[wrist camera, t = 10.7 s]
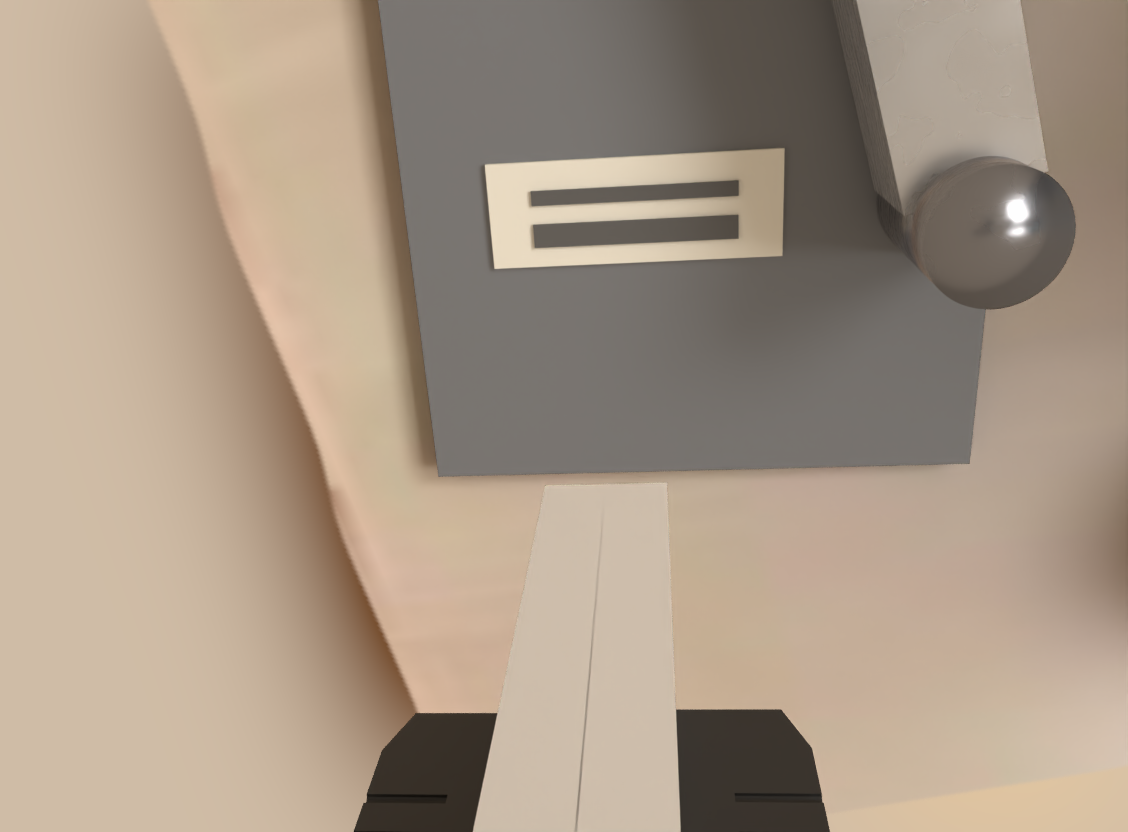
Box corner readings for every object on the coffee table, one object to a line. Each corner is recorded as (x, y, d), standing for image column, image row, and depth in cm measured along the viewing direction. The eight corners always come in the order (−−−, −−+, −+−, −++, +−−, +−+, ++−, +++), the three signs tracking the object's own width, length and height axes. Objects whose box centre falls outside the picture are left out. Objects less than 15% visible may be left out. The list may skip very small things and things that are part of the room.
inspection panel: (1021, -149, 30) (1037, -155, 29) (961, 452, 38) (972, 467, 36) (373, -96, 32) (362, -100, 31) (443, 465, 40) (437, 480, 38)
